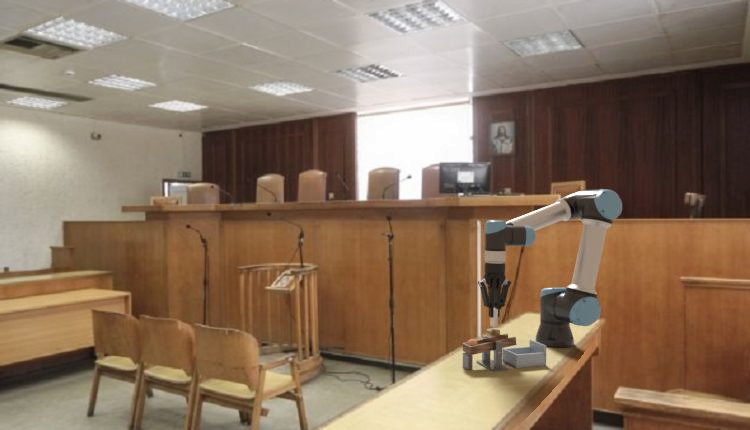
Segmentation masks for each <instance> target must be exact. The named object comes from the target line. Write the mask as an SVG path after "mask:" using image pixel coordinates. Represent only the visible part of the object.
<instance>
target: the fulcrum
mask: <svg viewBox="0 0 750 430" xmlns="http://www.w3.org/2000/svg"><path fill="white" fill-rule="evenodd" d="M489 337H490V336H487V335H482V338H481V339H484V338H489ZM491 352H493V359H491ZM473 358H474V356H473V355H469V354H467V353H466V352H462V367H463V368H464V369H466V370H468V371H471V370H473ZM502 359H503V348H502V341H494V350H492V351H487V352H483V353H481V360H476V363H477V364H479V365H481V366H482V367H484V368H486V369H487V370H489V371H491V372H497V371H499V372H500V371H508V370H509V368H508V367H507V366H504V365H503V361H502Z"/></svg>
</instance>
